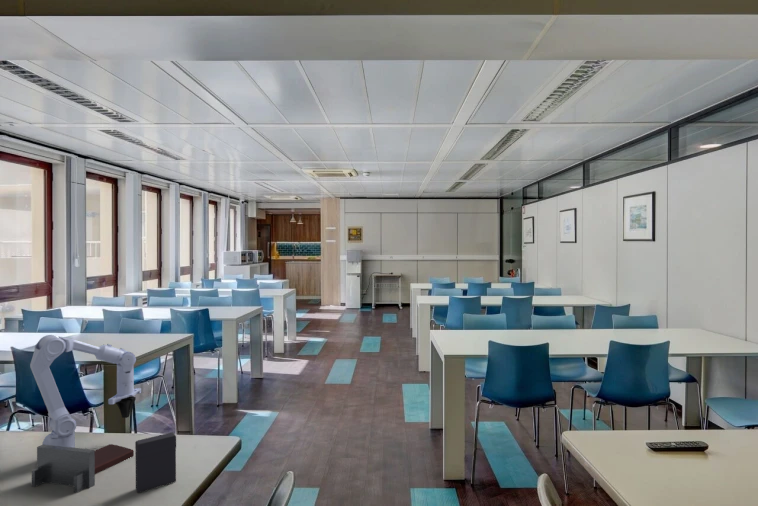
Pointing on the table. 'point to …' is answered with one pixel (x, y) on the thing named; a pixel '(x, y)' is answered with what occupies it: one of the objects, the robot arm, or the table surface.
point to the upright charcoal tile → (155, 461)
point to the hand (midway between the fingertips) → (125, 417)
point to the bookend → (64, 467)
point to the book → (111, 456)
